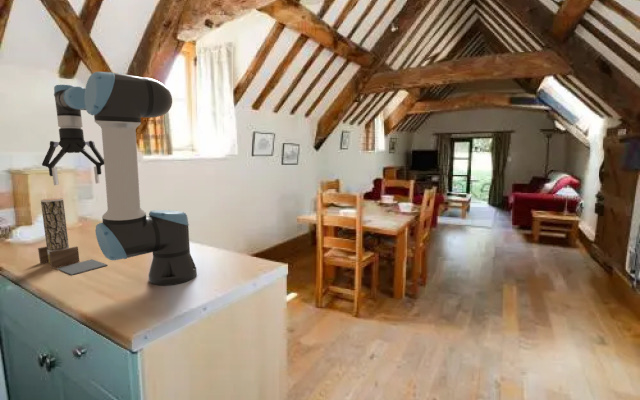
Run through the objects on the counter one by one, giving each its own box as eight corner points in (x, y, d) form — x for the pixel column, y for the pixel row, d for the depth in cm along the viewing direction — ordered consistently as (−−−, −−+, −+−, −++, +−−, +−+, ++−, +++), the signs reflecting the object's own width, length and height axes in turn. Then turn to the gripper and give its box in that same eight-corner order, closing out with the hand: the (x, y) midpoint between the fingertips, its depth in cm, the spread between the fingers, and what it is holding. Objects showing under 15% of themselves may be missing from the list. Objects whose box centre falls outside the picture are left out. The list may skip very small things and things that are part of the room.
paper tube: (59, 265, 133) (50, 200, 129) (44, 264, 134) (35, 200, 130) (74, 260, 139) (67, 198, 136) (60, 259, 141) (53, 197, 137)
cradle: (79, 261, 137) (77, 246, 137) (52, 268, 130) (50, 252, 129) (66, 256, 144) (64, 242, 143) (40, 263, 136) (38, 248, 135)
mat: (107, 265, 133) (107, 264, 133) (71, 275, 123) (71, 274, 123) (92, 260, 139) (91, 259, 139) (56, 269, 129) (56, 268, 129)
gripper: (110, 128, 140) (115, 181, 143) (34, 128, 132) (42, 184, 135) (106, 127, 133) (112, 183, 136) (26, 127, 125) (34, 186, 128)
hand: (77, 184), depth 136 cm, fingers open, 13 cm apart
